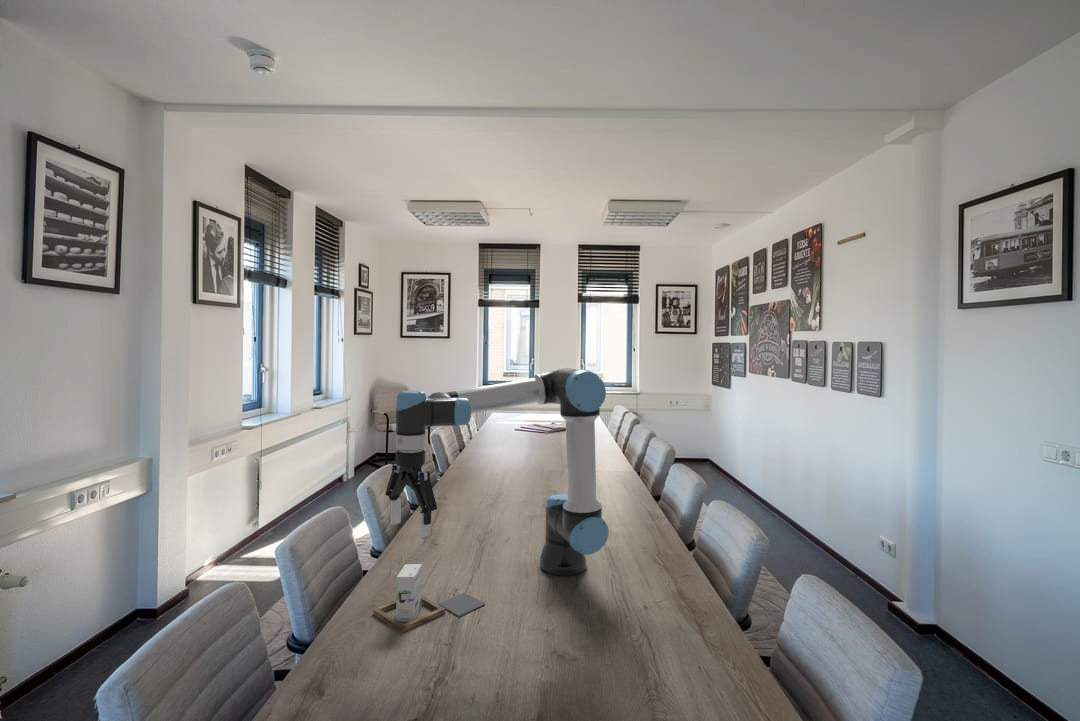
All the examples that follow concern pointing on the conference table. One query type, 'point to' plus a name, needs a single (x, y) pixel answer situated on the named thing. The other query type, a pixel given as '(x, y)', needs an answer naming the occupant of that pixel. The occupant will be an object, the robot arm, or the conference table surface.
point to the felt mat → (461, 604)
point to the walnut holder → (404, 627)
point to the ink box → (408, 592)
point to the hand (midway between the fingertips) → (409, 529)
